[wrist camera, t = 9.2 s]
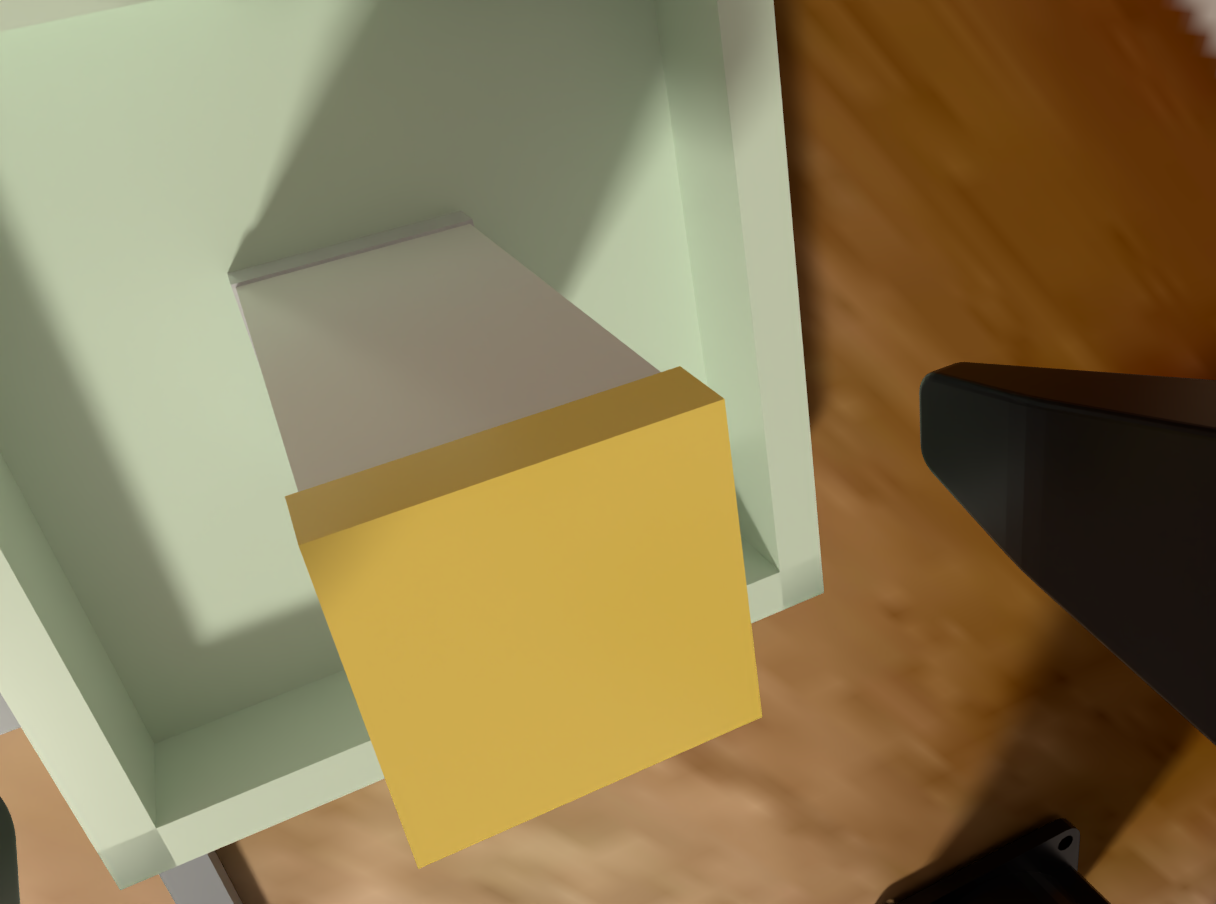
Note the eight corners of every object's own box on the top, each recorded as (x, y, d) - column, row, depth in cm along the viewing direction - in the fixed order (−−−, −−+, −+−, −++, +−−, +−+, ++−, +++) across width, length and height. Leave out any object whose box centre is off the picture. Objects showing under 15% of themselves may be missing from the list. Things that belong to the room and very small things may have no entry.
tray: (665, -177, 14) (755, -202, 12) (751, 526, 20) (823, 592, 18) (-311, 3, 11) (-414, 11, 9) (123, 775, 17) (120, 890, 15)
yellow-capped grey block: (463, 206, 15) (724, 398, 8) (512, 415, 16) (761, 716, 10) (222, 270, 14) (298, 546, 7) (299, 486, 15) (418, 868, 9)
